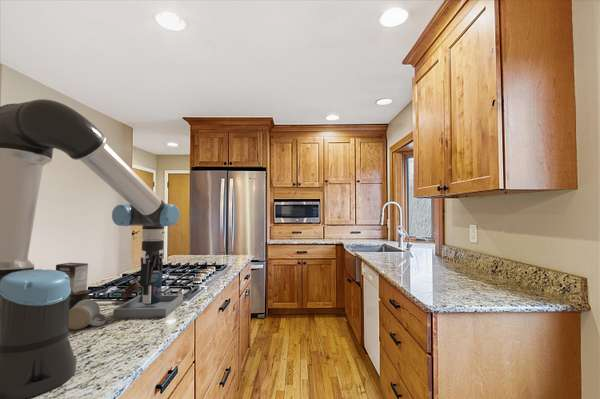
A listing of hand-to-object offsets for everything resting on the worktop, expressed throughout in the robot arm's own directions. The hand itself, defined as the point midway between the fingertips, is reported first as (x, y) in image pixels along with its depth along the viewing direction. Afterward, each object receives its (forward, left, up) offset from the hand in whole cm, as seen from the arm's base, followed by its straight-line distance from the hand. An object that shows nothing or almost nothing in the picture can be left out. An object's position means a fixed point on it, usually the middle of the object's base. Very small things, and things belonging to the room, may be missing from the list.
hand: (151, 300), depth 112 cm
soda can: (0, 0, -1) cm, 1 cm away
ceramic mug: (-15, +14, -4) cm, 21 cm away
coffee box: (+9, +36, -4) cm, 37 cm away
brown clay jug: (+15, +12, -4) cm, 20 cm away
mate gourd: (-4, +24, -4) cm, 25 cm away
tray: (0, 0, -4) cm, 4 cm away
